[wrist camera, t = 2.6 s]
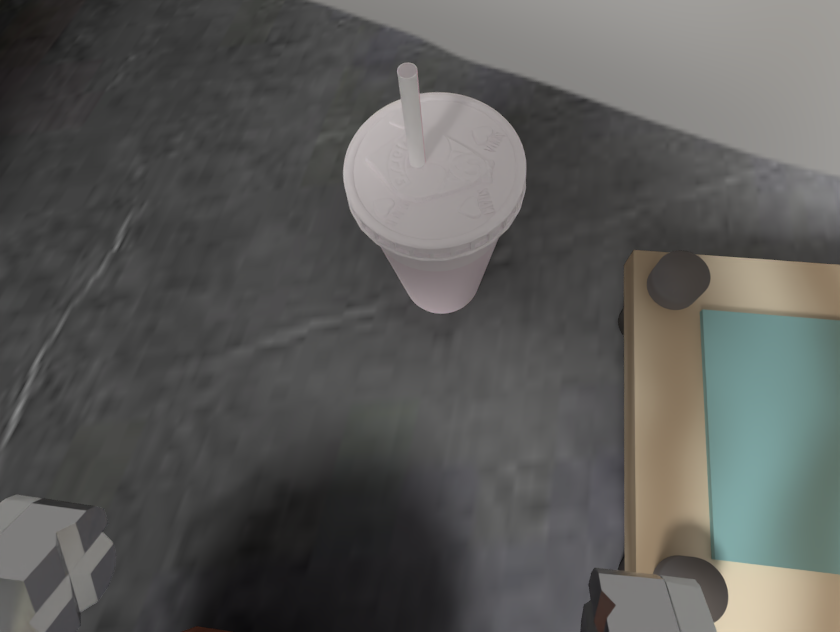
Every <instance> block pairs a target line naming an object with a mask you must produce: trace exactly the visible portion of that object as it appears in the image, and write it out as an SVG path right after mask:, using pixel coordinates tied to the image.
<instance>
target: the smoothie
mask: <svg viewBox="0 0 840 632" xmlns="http://www.w3.org/2000/svg"><path fill="white" fill-rule="evenodd" d="M397 74H398V81H399V89H400V96H401V99H399V100H397V101H395V102H392V103H390V104H388V105H387V106H385V107H383V108H382V109H380V110H379V111H377V112H376V113H374V114H373V115H372V116H371V117H370V118H369V119H368V120H367V121H366V122H365V123H364V124H363V125H362V126H361V127H360V128H359V130H358V131H357V132H356V134H355V135H354V137H353V139H352V141H351V142H350V145H349V147H348V150H347V153H346V156H345V161H344V168H343V179H344V186H345V190H346V194H347V199H348V203H349V208H350V211H351V213H352V215H353V216H354V218H355V220H356V222H357V223H358V225H359V227H360V229H361V230H362V231H363V232H364V233H365V234H366V235H367V236H368V237H369V238H371V239H372V240H373V241H374V242H375V243H376V244H377V245H379V246H380V247H381V249H382V250H383V252H384V254H385V256H386V257H387V259H388V261H389V262H390V264H391V266H392V267H393V269H394V271H395V273H396V274H397V276H398V278H399V279H400V281H401V283H402V285H403V286H404V288H405V290H406V291H407V293H408V295H409V296H410V298H411V299H412V301H413V302H414V303H415V304H416V305H418V306H419V307H420V308H422V309H424V310H426V311H429V312H432V313H439V314H445V313H451V312H454V311H457V310H459V309H461V308H463V307H464V306H466V305H467V304H468V303H469V302H470V301H471V300H472V299H473V297H474V296H475V294H476V292H477V290H478V287H479V285H480V282H481V280H482V277H483V275H484V272H485V270H486V268H487V265H488V263H489V260H490V258H491V255H492V253H493V251H494V248H495V246H496V243H497V241H498V238H499V237H500V236H501V235H502V234H503V233H504V232H505V231H506V230H507V229H509V227H510V225H511V224H512V222H513V221H514V219H515V217H516V216H517V214H518V213H519V211H520V209H521V205H522V202H523V198H524V194H525V191H526V157H525V152H524V149H523V145H522V143H521V141H520V138H519V136H518V135H517V133H516V131H515V130H514V128H513V127H512V126H511V124H510V123H509V122H508V121H507V120H506V119H505V118H504V117H503V116H502V115H501V114H500V113H498V112H497V111H496V110H495V109H493V108H491V107H490V106H488V105H487V104H485V103H483V102H481V101H478V100H476V99H473V98H471V97H467V96H464V95H459V94H454V93H444V92H431V93H422V94H420V93H419V82H418V72H417V67H416V66H415V65H414V64H412V63H403V64H401V65H400V66H399V67H398V69H397Z"/></svg>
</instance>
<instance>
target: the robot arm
mask: <svg viewBox="0 0 840 632" xmlns="http://www.w3.org/2000/svg"><path fill="white" fill-rule="evenodd" d="M108 524H109V523H108V520H107V517H106V514H105V510H104V509H103V508H100V507H97V506H91V505H84V504H78V503H71V502H65V501H58V500H52V499H45V498H36V497H29V496H22V495H14V496H11V497H9V498H6V499H4V500H3V501H2V502H1V503H0V632H76V631H77V630H78V628H79V627H80V626H81V611H83V610H85V609H86V608H88V607H90V606H91V605H93V604H94V603H96V602H98V601H99V599H100V598H101V596H102V595H103V593H104V592H105V590H106V589H107V588H108V586H109V584H110V581H111V578H112V576H113V573H114V570H115V566H116V551H115V547H114V543H113V542H112V541H111V540H110V539H109V538H108V537H107V536H106V535H105V534H104V533H103V531H104V529H105V528H106V527H107V525H108ZM588 585H589V592H590V599H591V600H590V601H589V602H587V603H586V604H584V607H583V613H582V618H581V631H580V632H717V630H716V627H715V625H714V622H713V619H712V616H711V614H710V611H709V608H708V606H707V603H706V600H705V598H704V595H703V592H702V590H701V587H700V585H699V584H698V583H697V582H696V580H695V579H687V578H679V577H670V576H662V575H661V576H658V575H655V574H646V573H637V572H629V571H620V570H611V569H602V568H594V569H593V571H592V573H591V576H590V580H589V584H588Z"/></svg>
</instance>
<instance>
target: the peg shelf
mask: <svg viewBox="0 0 840 632" xmlns="http://www.w3.org/2000/svg"><path fill="white" fill-rule="evenodd" d="M618 325H619V329H620V331H621V333H622V334H623V335H624V508H625V557H624V559H623V560H622V561H621V563H620V566H619V569H618V570H620V571H629V572H637V573H646V574H655V575H658V576H661V575H662V576H670V577H679V578H687V579H695V580H696V582H697V583H698V584H699V585H700V587H701V590H702V592H703V595H704V598H705V600H706V603H707V606H708V608H709V611H710V614H711V616H712V619H713V622H714V625H715V627H716V630H717V632H840V265H836V264H822V263H808V262H794V261H780V260H766V259H753V258H739V257H725V256H711V255H697V254H693V253H691V252H688V251H672V252H670V253H669V252H655V251H642V250H633V252H632V253H631V255H630V256H629V258H628V260H627V261H626V263H625V264H624V309H623V310H622V312H621V313H620V316H619V319H618Z"/></svg>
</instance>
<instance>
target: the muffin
mask: <svg viewBox="0 0 840 632" xmlns="http://www.w3.org/2000/svg"><path fill="white" fill-rule="evenodd" d="M182 632H231V631H225V630H218V629H211V628H204V627H198V626H196V627H193V628H191V629H188V630H185V631H182Z"/></svg>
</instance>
